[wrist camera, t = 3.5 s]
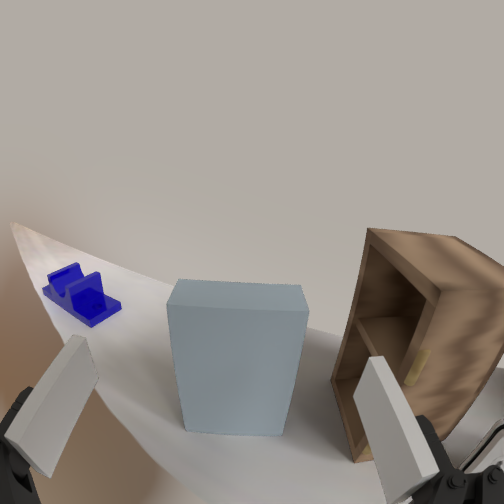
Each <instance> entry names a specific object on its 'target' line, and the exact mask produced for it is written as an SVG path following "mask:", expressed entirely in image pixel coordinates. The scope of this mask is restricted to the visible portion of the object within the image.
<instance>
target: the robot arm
mask: <svg viewBox="0 0 504 504" xmlns="http://www.w3.org/2000/svg"><path fill="white" fill-rule="evenodd" d="M98 379H99V377H98V374H97V372H96V369H95V366H94V363H93V360H92V357H91V354H90V350H89V347H88V344H87V340H86V337H82V336H77V335H72V337H71V338H70V339H69V340H68V342H67V343H66V344H65V346H64V347H63V348H62V350H61V351H60V353H59V354H58V355H57V356H56V358H55V359H54V361H53V362H52V363H51V365H50V366H49V368H48V369H47V370H46V372H45V373H44V375H43V376H42V377H41V379H40V380H39V382H38V383H37V385H36V386H35V388H32V387H27V388H26V389H25V390H23V391H22V392H21V393H20V394H19V396H18V397H17V399H16V400H15V402H14V403H13V404H12V406H11V409H9V411H8V412H7V414H6V415H5V417H4V418H3V420H2V422H1V423H0V504H41V502H40V500H39V497H38V494H37V491H36V488H35V485H34V482H33V478H32V475H31V473H30V471H29V468H30V466H32V467H33V468H34V469H35V470H36V471H37V472H38V473H40V474H42V475H44V476H46V477H48V478H50V479H51V477H52V475H53V472H54V470H55V467H56V465H57V463H58V461H59V458H60V456H61V454H62V452H63V449H64V447H65V445H66V443H67V441H68V439H69V436H70V434H71V432H72V430H73V428H74V426H75V424H76V422H77V420H78V418H79V416H80V414H81V412H82V410H83V408H84V406H85V404H86V402H87V400H88V398H89V396H90V394H91V392H92V390H93V388H94V387H95V385H96V383H97V381H98ZM353 398H354V401H355V404H356V406H357V409H358V412H359V415H360V418H361V421H362V424H363V427H364V430H365V433H366V436H367V439H368V442H369V445H370V448H371V451H372V454H373V458H374V461H375V464H376V467H377V470H378V474H379V477H380V480H381V484H382V487H383V490H384V494H385V497H386V501H387V504H396V503H400V502H403V501H405V500H406V499H408V498H409V497H410V496H412V499H413V500H412V501H411V502H410V503H408V504H504V471H503V470H502V468H501V467H499V466H498V465H490V466H488V467H487V468H486V469H485V470H484V471H482V472H478V473H469V474H465V473H464V472H463V471H461V470H459V469H455V468H454V467H453V466H452V464H451V462H450V460H449V458H448V456H447V453H446V451H445V449H444V447H443V445H442V443H441V441H440V440H439V437H438V435H437V433H435V432H436V431H435V429H434V427H433V425H432V423H431V422H430V421H429V420H428V419H427V418H426V417H425V416H424V415H419V416H414V414H413V412H412V410H411V408H410V406H409V404H408V402H407V400H406V398H405V396H404V394H403V392H402V390H401V388H400V386H399V384H398V383H397V381H396V379H395V377H394V375H393V373H392V371H391V369H390V367H389V366H388V364H387V362H386V360H385V358H384V356H376V357H369V359H368V361H367V364H366V366H365V369H364V371H363V374H362V376H361V379H360V381H359V383H358V386H357V388H356V390H355V393H354V395H353Z"/></svg>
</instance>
